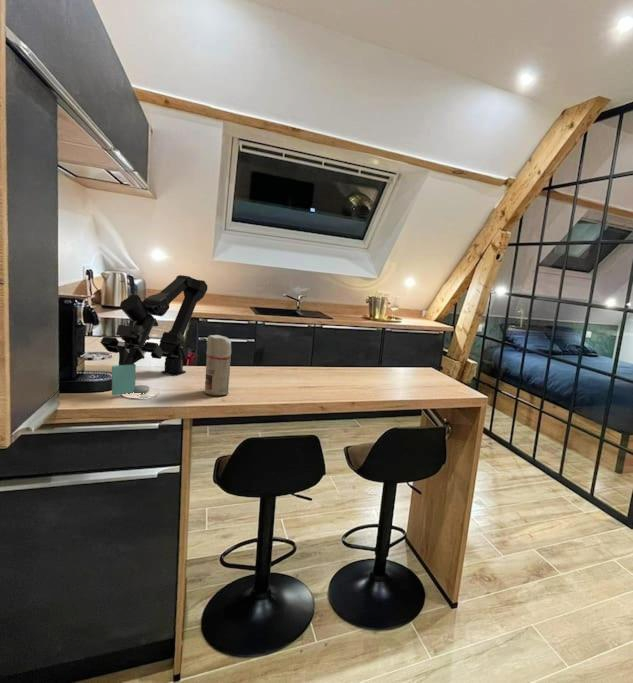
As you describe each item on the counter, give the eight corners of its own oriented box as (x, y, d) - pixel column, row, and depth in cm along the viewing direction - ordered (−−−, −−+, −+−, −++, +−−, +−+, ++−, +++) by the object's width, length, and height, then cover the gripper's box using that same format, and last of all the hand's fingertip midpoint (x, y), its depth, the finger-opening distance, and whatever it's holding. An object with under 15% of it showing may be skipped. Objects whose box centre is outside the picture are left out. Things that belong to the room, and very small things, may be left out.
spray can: (202, 389, 139) (205, 332, 135) (226, 388, 142) (230, 333, 138) (205, 397, 131) (208, 337, 128) (230, 396, 134) (234, 338, 131)
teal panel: (145, 387, 132) (145, 360, 130) (151, 391, 129) (152, 364, 127) (109, 392, 124) (109, 364, 122) (115, 397, 121) (115, 368, 119)
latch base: (134, 386, 135) (134, 384, 135) (165, 390, 133) (165, 389, 133) (114, 396, 124) (114, 394, 124) (147, 401, 123) (147, 399, 123)
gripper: (103, 311, 127) (79, 352, 119) (158, 318, 125) (138, 361, 116) (119, 331, 136) (98, 371, 128) (170, 338, 134) (152, 379, 126)
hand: (120, 370), depth 124 cm, fingers closed
